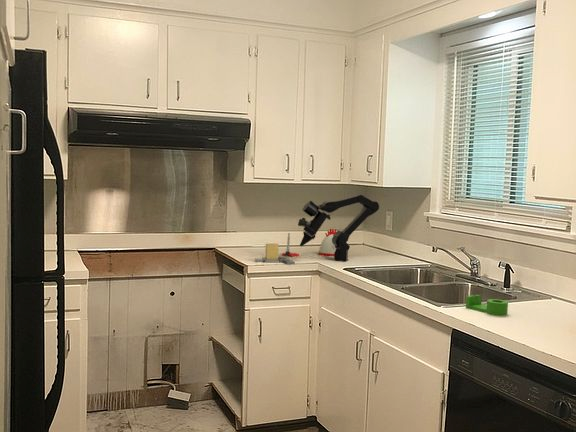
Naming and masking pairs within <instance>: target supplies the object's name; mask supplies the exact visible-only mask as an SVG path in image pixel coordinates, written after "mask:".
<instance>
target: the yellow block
mask: <svg viewBox="0 0 576 432" xmlns="http://www.w3.org/2000/svg"><path fill="white" fill-rule="evenodd" d="M279 247H280V244H278V243H265V249H264V250H265V254H264V255H265V256H264V257H265V259H277V260H278V257H279V250H280V248H279ZM278 261H279V260H278Z"/></svg>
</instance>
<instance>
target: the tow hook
mask: <svg viewBox="0 0 576 432" xmlns="http://www.w3.org/2000/svg"><path fill="white" fill-rule="evenodd" d="M290 235H291V233H290V232H288V233H287V241H286V243H287V244H286V251H285V252H282V253H281V254H282V257H291V258H293V257H300V253H296V252H291V251H290V241H291V240H290V239H291V237H290Z"/></svg>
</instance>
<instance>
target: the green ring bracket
mask: <svg viewBox="0 0 576 432" xmlns="http://www.w3.org/2000/svg"><path fill="white" fill-rule="evenodd" d="M465 308H467V309H470V310H474V311H478V312H481V313H486V314H488V315H492V316H499V317H501V316H508V308H509V302H508V300H503V299H497V298H495V299H494V298H490V299H487V300H486V304H485V303H482V295H480V294H474V295H467V296H466V298H465Z"/></svg>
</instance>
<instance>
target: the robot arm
mask: <svg viewBox="0 0 576 432" xmlns="http://www.w3.org/2000/svg"><path fill="white" fill-rule="evenodd" d="M358 203H359V204H360V205H361V206H363V207H362V208H361V211H360V212H359V214H357V215H356V216H355V218H354V219H352V221H351V222H350V223H349V224H347V226H346V227H345V228H344V229H343V230H339V229H338V230H336V234H334V235H333V238H332V243H333V244H334V245H335V248H337V249H336V251H335V253H334V257H333V259H334V261H336V262H337V261H338V262H347V261H349V260H350V259H349V250H350V247H351V246H350V244H349V243H348V241H349V239H350V237H351V235H352V234H353V233H354V232H355V231H356V230H357V229H358V227H359V226H361V224H362V223H363V222H364V221H365V220H366V219H367V218H369V217H370V216H372V215H374V214H376V213H377V212H378V211H379V209H380V204H379V202H377V201H374V200H372V199H369V198H368V197H366V196H364V195H363V194H360V193H359V194H356V195H352V196H349V197H345V198H341V199H338V200H326V201H324V202H323V201H322V204H318V205H317V204H316V203H315V202H313V201H312V200H309V201H308V202H306V204H305V205H304V206H303V208H302V212H304V213H305V214H306V215H308V216H309V217H313V218H312V219H311V220H310V221H308V220H307V219H306V218H305V217H302V218H299V220H298V224H297V227H303V232H302V233H303V234H302V235H303V237H302V239H301V241H300V244H299V246H300V247H304V245H306V244H307V243H309V242H311V241H312V240H315V238H316V235H317V232H318V231H319V230H320V229H321V228H322V225H323V224H324V223H325V221H326V220H329V221H330V220H332V219H331V215H330V214H331V213H334V212H335V211H337V210H339V209H340V208H344V207H346V206H351V205H355V204H358Z"/></svg>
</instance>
